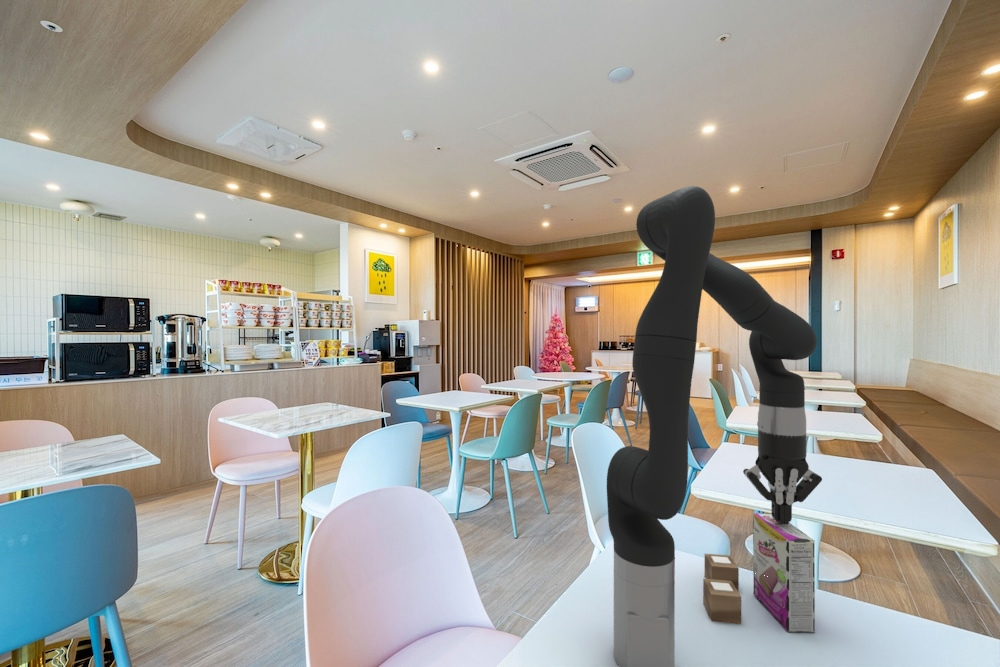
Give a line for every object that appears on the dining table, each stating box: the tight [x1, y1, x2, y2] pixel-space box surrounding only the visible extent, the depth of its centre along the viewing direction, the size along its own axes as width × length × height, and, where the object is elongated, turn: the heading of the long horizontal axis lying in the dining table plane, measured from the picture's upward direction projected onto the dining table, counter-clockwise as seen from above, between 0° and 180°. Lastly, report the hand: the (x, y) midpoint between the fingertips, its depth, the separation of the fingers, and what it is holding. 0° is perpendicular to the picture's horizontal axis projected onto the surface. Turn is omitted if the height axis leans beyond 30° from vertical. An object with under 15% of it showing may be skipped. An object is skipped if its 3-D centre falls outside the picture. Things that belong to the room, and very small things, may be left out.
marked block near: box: [702, 578, 742, 625], centre depth 81 cm, size 5×5×5 cm
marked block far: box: [704, 553, 740, 593], centre depth 90 cm, size 5×5×5 cm
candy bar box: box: [752, 512, 816, 634], centre depth 81 cm, size 11×5×16 cm, turn 179°
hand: (781, 522), depth 81 cm, fingers closed
